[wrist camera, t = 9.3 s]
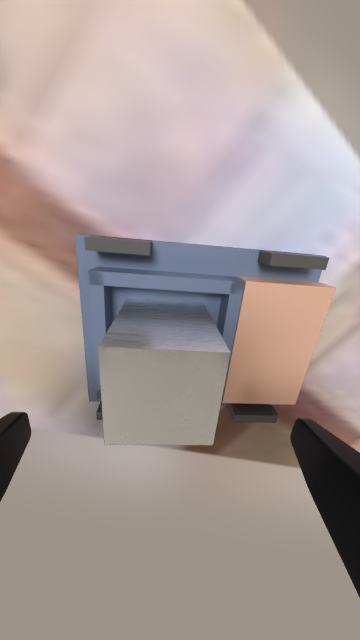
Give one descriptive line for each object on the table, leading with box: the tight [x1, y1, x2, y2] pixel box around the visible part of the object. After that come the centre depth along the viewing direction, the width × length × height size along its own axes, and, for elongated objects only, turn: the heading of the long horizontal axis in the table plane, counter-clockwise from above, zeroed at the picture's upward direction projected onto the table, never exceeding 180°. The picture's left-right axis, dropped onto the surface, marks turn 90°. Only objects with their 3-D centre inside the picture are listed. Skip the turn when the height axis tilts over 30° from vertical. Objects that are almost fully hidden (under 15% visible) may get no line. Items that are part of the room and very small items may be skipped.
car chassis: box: [75, 234, 336, 423], centre depth 14 cm, size 14×11×3 cm
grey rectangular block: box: [98, 298, 230, 445], centre depth 11 cm, size 4×4×6 cm
